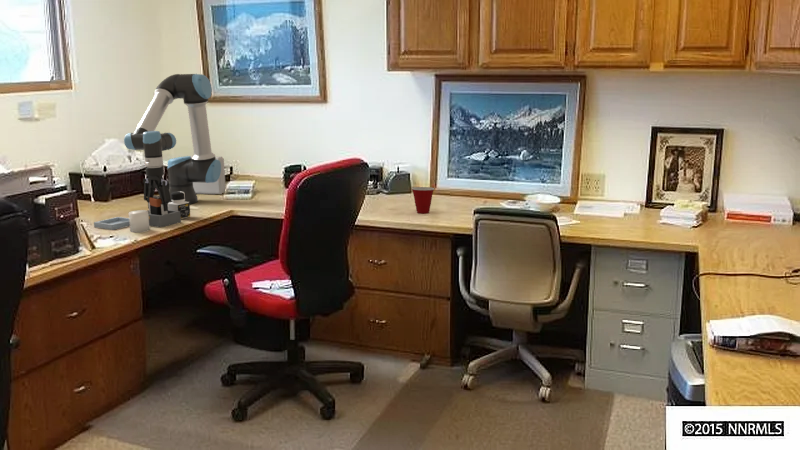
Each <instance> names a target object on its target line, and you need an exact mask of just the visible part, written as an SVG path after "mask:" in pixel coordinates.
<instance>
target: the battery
mask: <svg viewBox="0 0 800 450" xmlns="http://www.w3.org/2000/svg"><path fill="white" fill-rule="evenodd" d="M149 200H150V211H151V214H154V215H162V211H161V203H162V201H161V198H160V196H159V195H157V194H154V196H153V197H150V198H149ZM164 201H165V200H164Z"/></svg>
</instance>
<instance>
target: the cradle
mask: <svg viewBox="0 0 800 450" xmlns="http://www.w3.org/2000/svg"><path fill="white" fill-rule="evenodd" d="M146 211H148V215H149V226H150V227H154V228H163V227H168V226H172V225H175V224H179V223H182V219H181V214H180V211H174V210H168V214H164V215H154V214H149V209H147V210H146Z"/></svg>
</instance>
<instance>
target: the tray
mask: <svg viewBox="0 0 800 450" xmlns="http://www.w3.org/2000/svg"><path fill="white" fill-rule="evenodd" d="M93 226H94V228H97V229H105V230H110V231H115V230H117V229H118V230H119V229H123V228H127V227H130V223H129V217H123V216H116V217H112V218H111V217H110V218H106V219H102V220H99V221H94V222H93Z"/></svg>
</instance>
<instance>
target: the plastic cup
mask: <svg viewBox="0 0 800 450" xmlns="http://www.w3.org/2000/svg"><path fill="white" fill-rule="evenodd" d="M411 190H412V194H413V199H414V203H415V204H414V206H415V210H416V213H417V214H422V215H423V214H424V215H425V214H429V213H430V210H431V205H432V199H433V193H434V192H435V188H434V187H429V186H428V187H426V186H414V187H411Z"/></svg>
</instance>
